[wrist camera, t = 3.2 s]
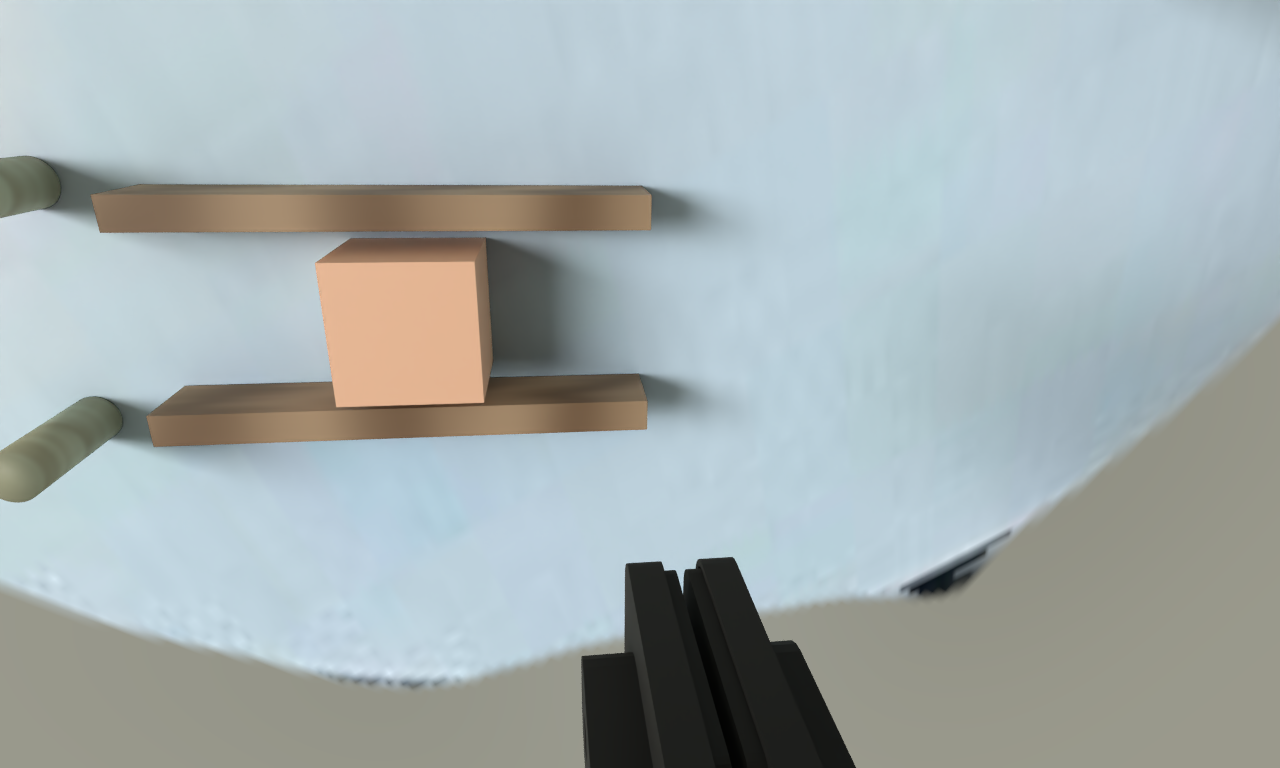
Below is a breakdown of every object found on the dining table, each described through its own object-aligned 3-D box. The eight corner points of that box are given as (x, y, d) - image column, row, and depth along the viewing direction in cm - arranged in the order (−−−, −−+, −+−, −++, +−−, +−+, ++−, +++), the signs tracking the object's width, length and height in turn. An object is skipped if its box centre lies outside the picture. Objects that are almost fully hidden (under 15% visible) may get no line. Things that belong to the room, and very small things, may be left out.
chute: (641, 159, 28) (660, 172, 23) (637, 420, 32) (653, 475, 27) (-4, 155, 25) (-129, 168, 21) (78, 439, 29) (-11, 503, 24)
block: (485, 237, 28) (474, 261, 24) (493, 360, 30) (484, 402, 26) (350, 238, 27) (315, 263, 23) (366, 363, 29) (336, 407, 25)
